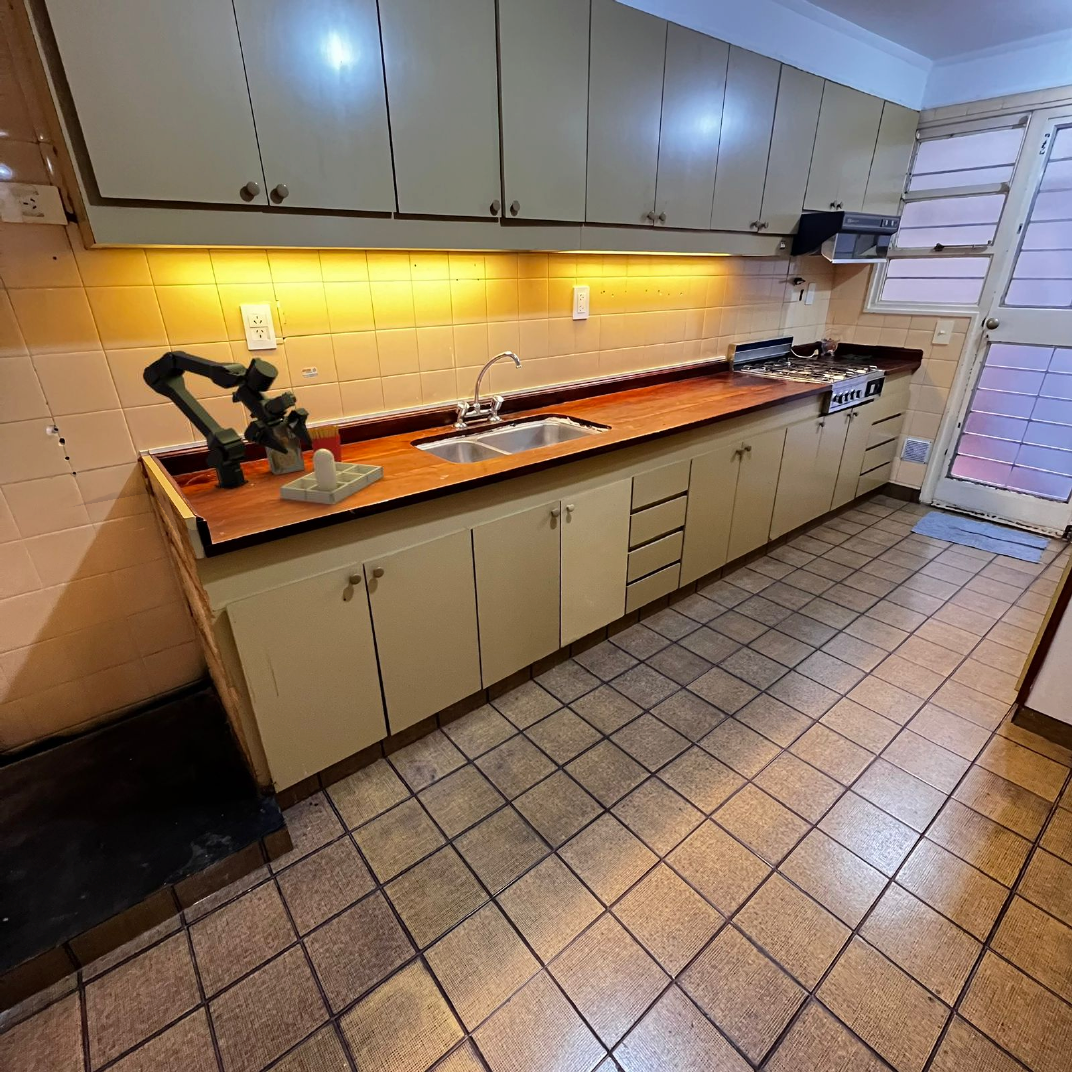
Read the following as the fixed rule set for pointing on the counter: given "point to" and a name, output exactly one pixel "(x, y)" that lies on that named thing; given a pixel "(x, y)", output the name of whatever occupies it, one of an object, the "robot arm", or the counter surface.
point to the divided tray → (347, 478)
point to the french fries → (326, 440)
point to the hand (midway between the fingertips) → (299, 448)
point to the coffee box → (286, 461)
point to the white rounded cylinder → (325, 470)
